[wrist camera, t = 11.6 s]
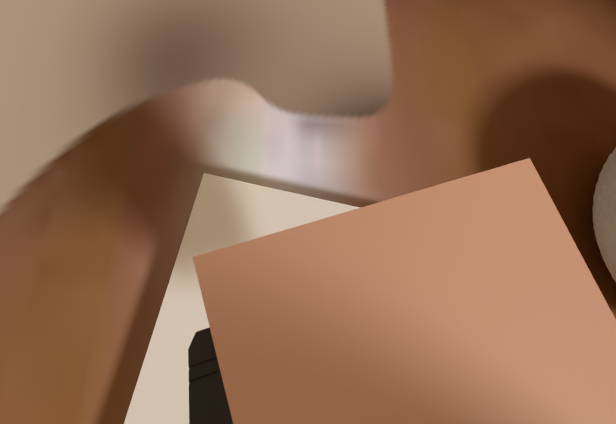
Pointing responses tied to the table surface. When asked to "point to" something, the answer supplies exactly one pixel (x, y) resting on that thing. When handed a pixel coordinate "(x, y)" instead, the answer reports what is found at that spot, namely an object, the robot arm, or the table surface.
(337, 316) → the terracotta block
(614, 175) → the cereal bowl
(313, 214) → the off-white board
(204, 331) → the robot arm
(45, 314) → the table surface
